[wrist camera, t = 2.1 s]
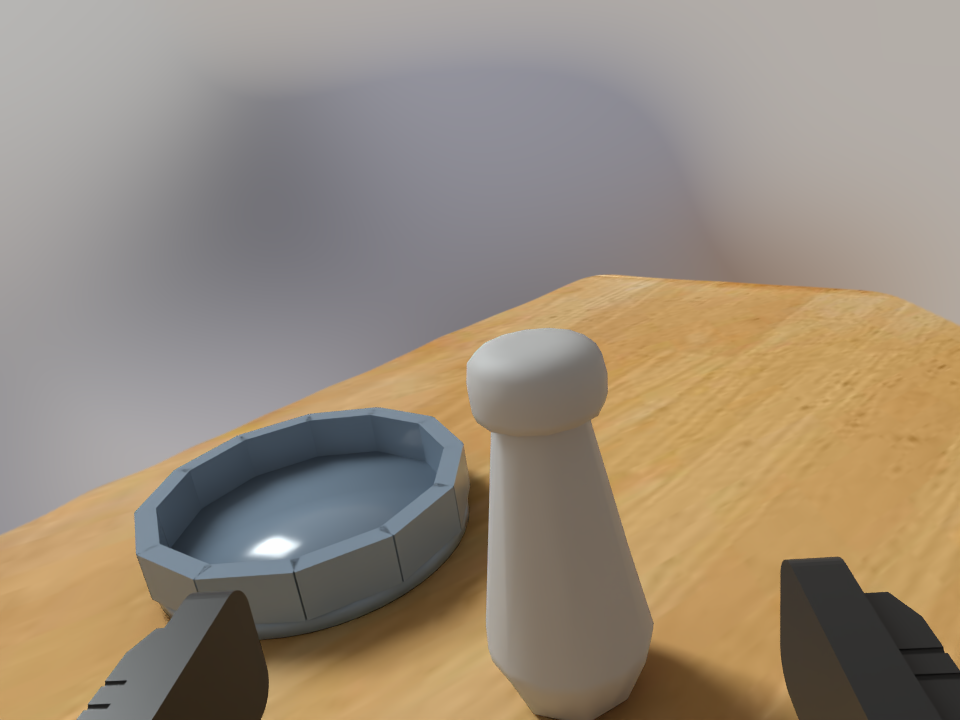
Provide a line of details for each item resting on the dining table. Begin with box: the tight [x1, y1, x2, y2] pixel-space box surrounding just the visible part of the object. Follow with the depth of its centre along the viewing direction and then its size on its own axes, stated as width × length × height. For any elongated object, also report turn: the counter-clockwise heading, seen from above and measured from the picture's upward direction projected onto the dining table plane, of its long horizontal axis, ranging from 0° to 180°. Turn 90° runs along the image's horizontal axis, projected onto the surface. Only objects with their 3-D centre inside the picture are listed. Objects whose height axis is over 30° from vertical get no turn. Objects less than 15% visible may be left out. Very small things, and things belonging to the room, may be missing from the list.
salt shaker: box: [467, 328, 654, 720], centre depth 25 cm, size 6×6×13 cm
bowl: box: [134, 407, 470, 640], centre depth 38 cm, size 16×16×3 cm
